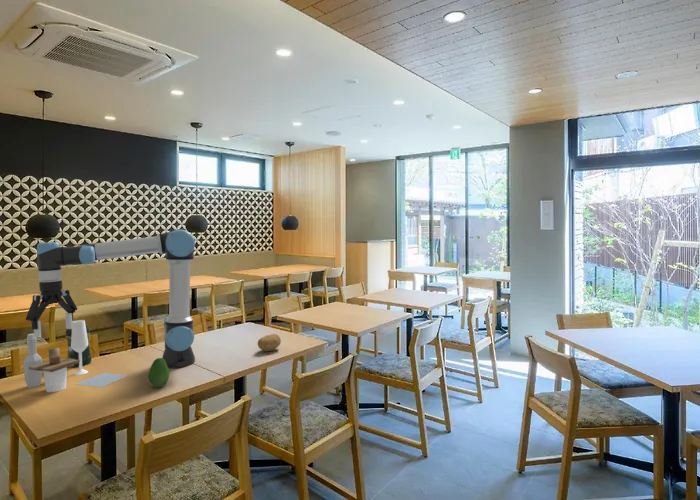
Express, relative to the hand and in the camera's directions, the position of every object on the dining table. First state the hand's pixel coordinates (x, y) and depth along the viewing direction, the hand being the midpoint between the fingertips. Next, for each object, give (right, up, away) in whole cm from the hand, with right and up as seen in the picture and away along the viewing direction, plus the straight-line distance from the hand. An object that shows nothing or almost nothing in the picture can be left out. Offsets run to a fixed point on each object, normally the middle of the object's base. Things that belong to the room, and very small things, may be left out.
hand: (54, 332), depth 171 cm
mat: (+13, -23, +11) cm, 29 cm away
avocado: (+41, -23, +4) cm, 47 cm away
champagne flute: (-2, -23, +20) cm, 31 cm away
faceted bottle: (-12, -24, +6) cm, 27 cm away
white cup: (0, -24, +1) cm, 24 cm away
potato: (+77, -20, +53) cm, 96 cm away
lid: (0, -14, +1) cm, 14 cm away
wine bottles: (-11, -22, +33) cm, 41 cm away
